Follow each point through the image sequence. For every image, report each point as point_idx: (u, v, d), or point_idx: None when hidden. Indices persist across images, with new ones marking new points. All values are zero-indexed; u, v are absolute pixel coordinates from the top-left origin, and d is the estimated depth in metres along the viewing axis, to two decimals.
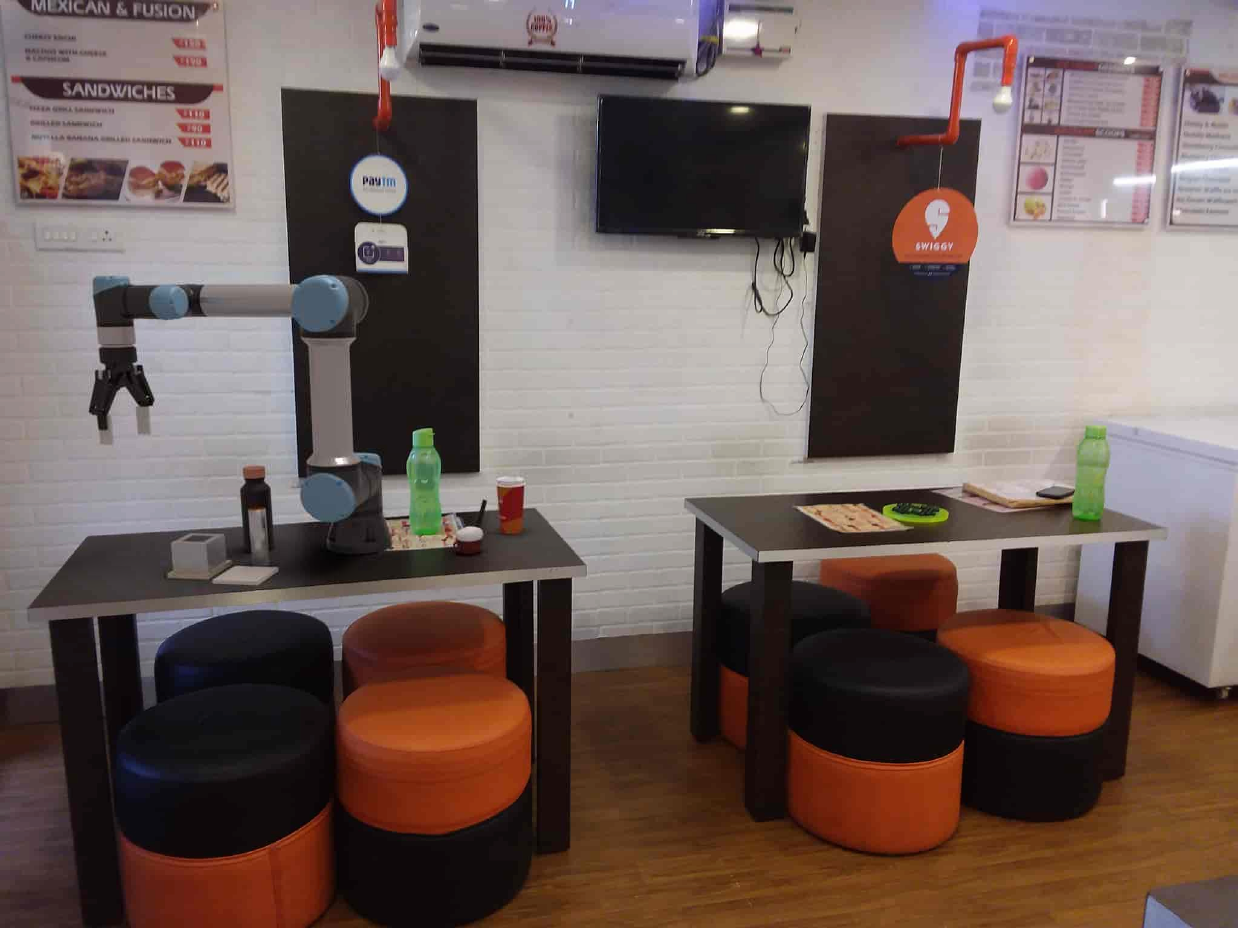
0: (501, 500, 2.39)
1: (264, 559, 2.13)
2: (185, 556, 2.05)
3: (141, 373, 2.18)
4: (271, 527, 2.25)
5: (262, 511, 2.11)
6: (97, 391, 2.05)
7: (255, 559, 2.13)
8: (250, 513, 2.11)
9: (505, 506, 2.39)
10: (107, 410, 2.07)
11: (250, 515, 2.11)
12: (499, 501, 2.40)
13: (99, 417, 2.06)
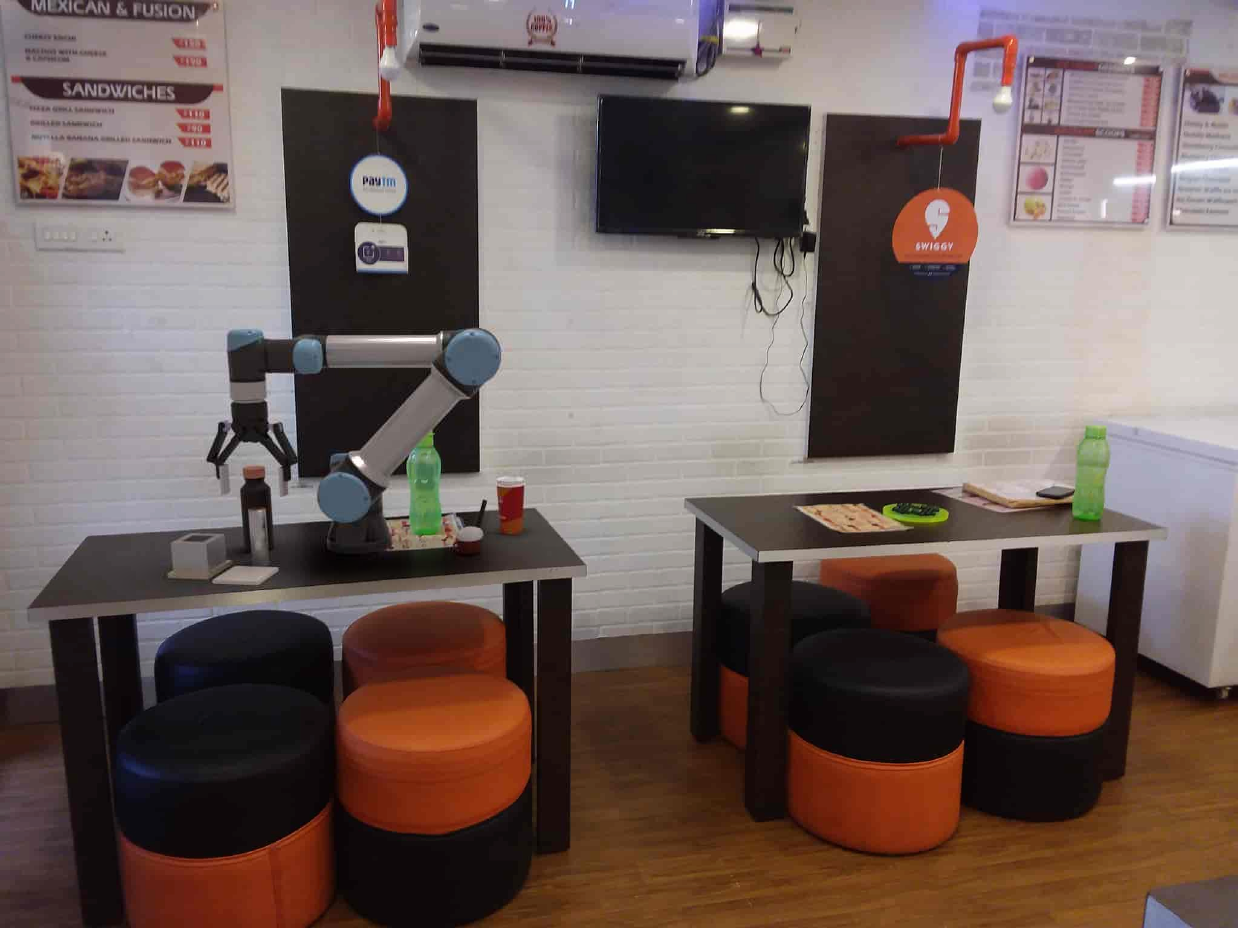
0: (501, 500, 2.39)
1: (264, 559, 2.13)
2: (185, 556, 2.05)
3: (275, 432, 2.07)
4: (271, 527, 2.25)
5: (262, 511, 2.11)
6: None
7: (255, 559, 2.13)
8: (250, 513, 2.11)
9: (505, 506, 2.39)
10: (218, 461, 2.09)
11: (250, 515, 2.11)
12: (499, 501, 2.40)
13: None
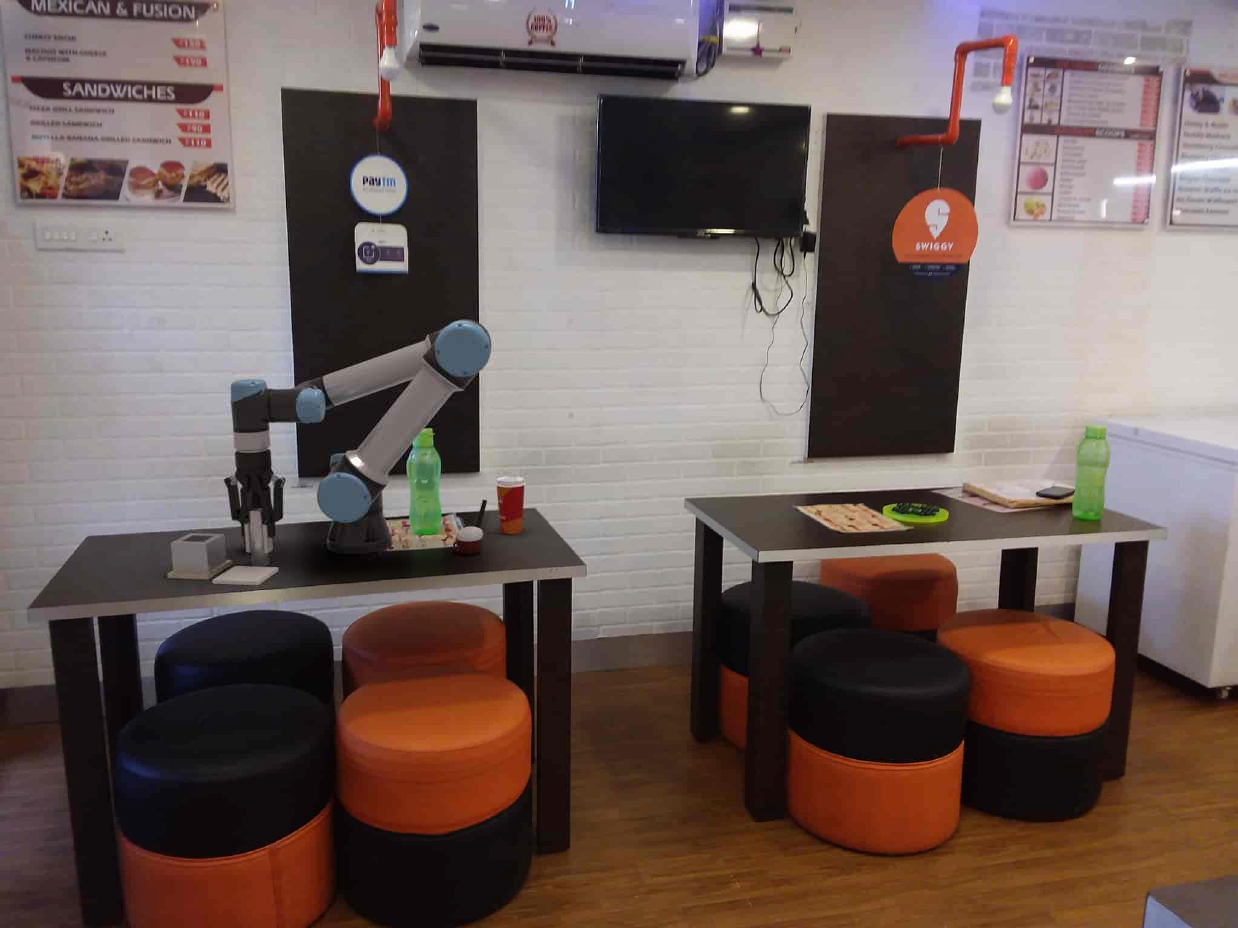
0: (501, 500, 2.39)
1: (264, 559, 2.13)
2: (185, 556, 2.05)
3: (275, 487, 2.09)
4: None
5: (262, 511, 2.11)
6: None
7: (255, 559, 2.13)
8: (250, 513, 2.11)
9: (505, 506, 2.39)
10: (242, 518, 2.11)
11: (250, 515, 2.11)
12: (499, 501, 2.40)
13: None
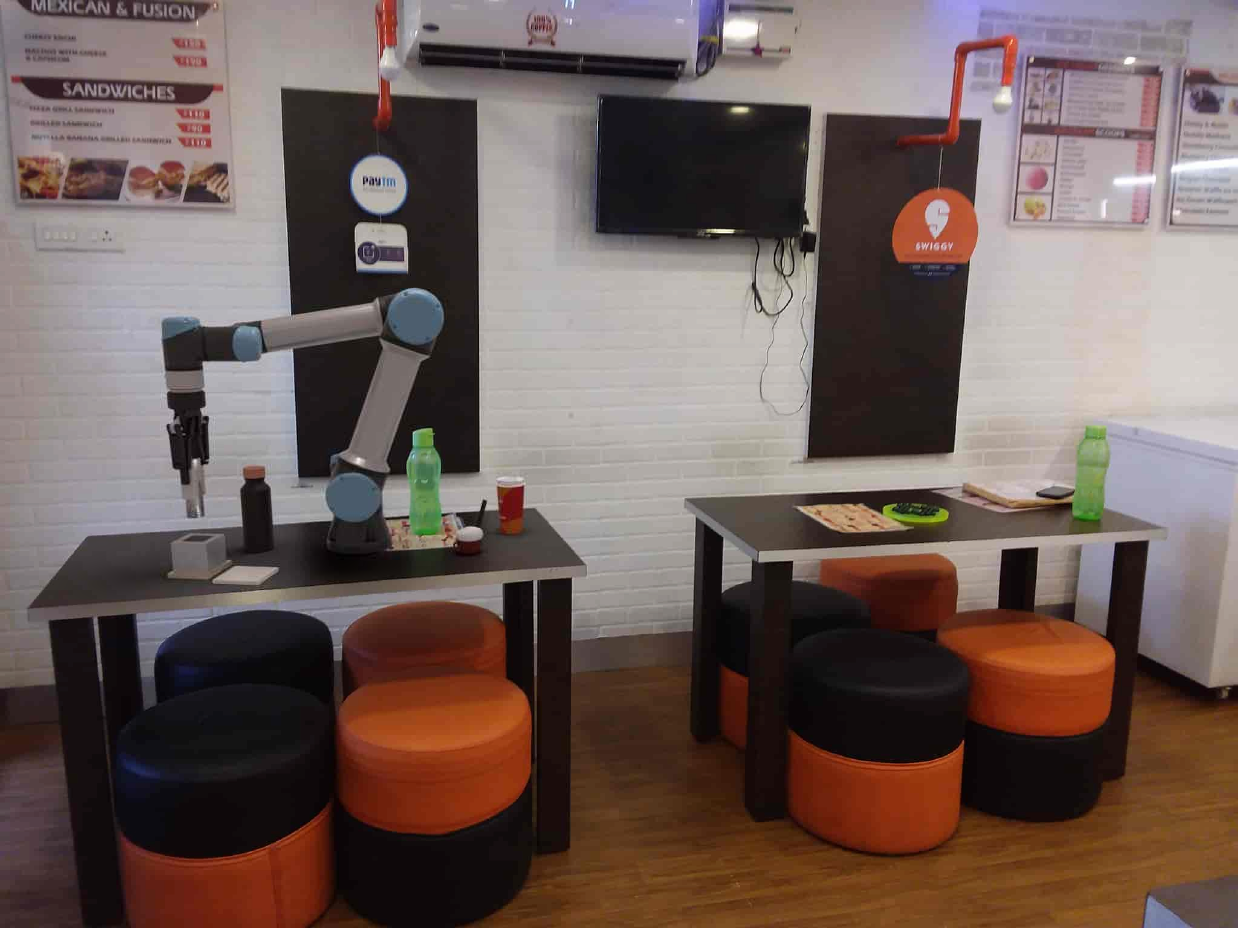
0: (501, 500, 2.39)
1: None
2: (185, 556, 2.05)
3: (206, 424, 2.08)
4: (271, 527, 2.25)
5: None
6: (175, 446, 1.98)
7: (202, 509, 2.06)
8: (196, 462, 2.04)
9: (505, 506, 2.39)
10: (189, 464, 2.02)
11: (196, 463, 2.04)
12: (499, 501, 2.40)
13: (182, 472, 2.01)
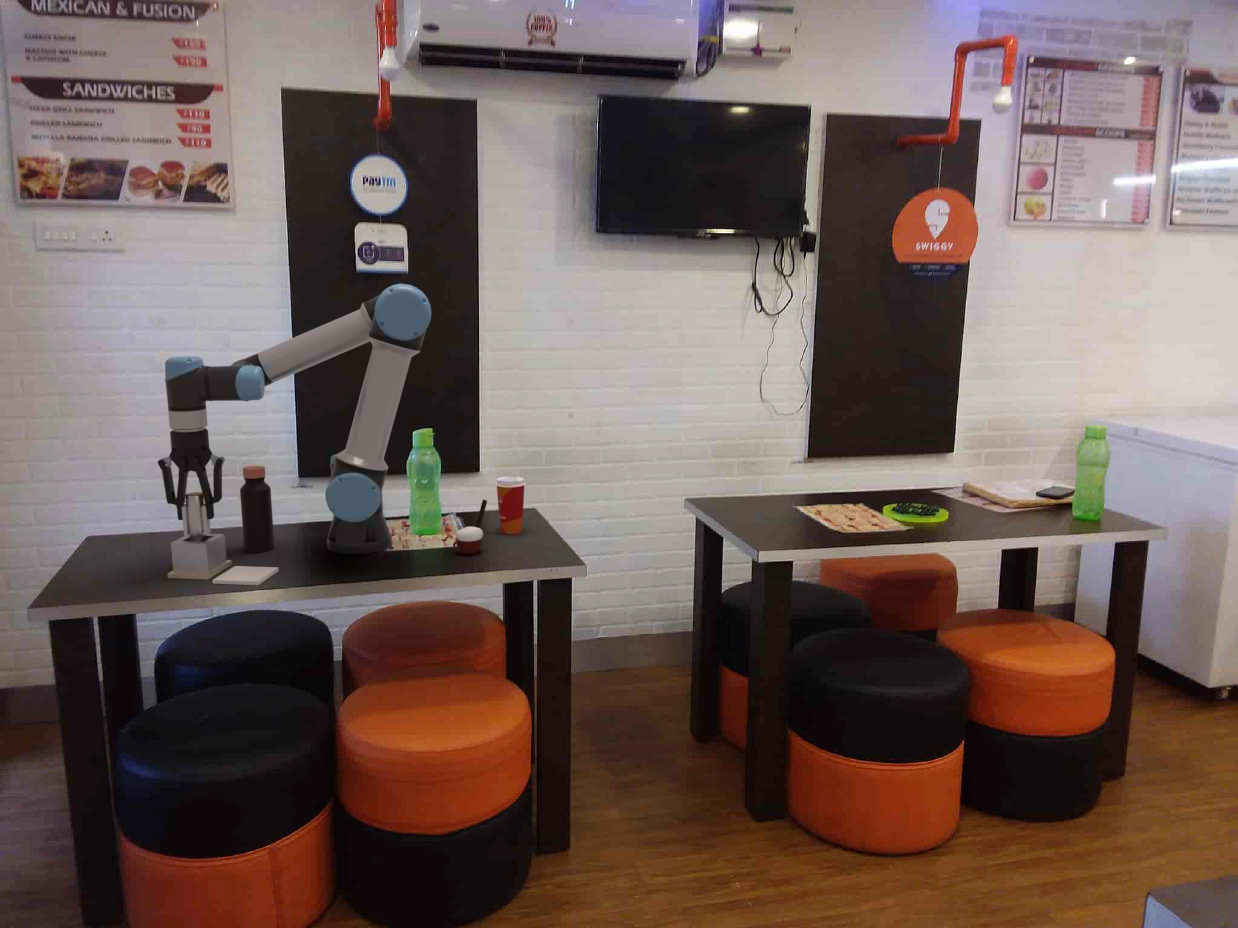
0: (501, 500, 2.39)
1: None
2: (185, 556, 2.05)
3: (215, 466, 2.05)
4: (271, 527, 2.25)
5: None
6: None
7: None
8: (193, 499, 2.05)
9: (505, 506, 2.39)
10: (179, 501, 2.05)
11: (192, 500, 2.05)
12: (499, 501, 2.40)
13: None
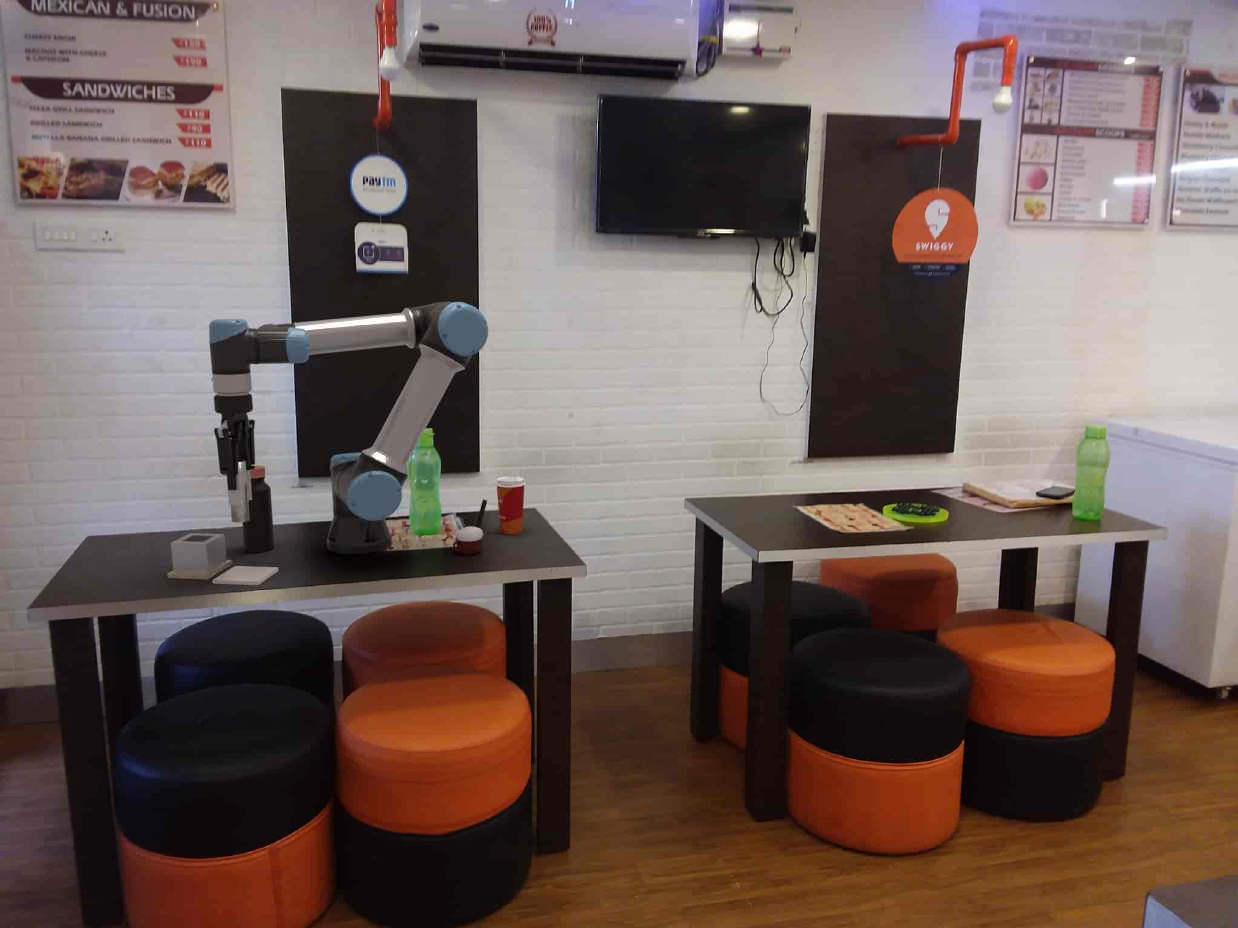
0: (501, 500, 2.39)
1: None
2: (185, 556, 2.05)
3: (252, 428, 2.04)
4: (271, 527, 2.25)
5: None
6: (222, 451, 1.94)
7: None
8: (245, 464, 2.01)
9: (505, 506, 2.39)
10: (236, 469, 1.98)
11: (245, 466, 2.01)
12: (499, 501, 2.40)
13: (229, 477, 1.98)
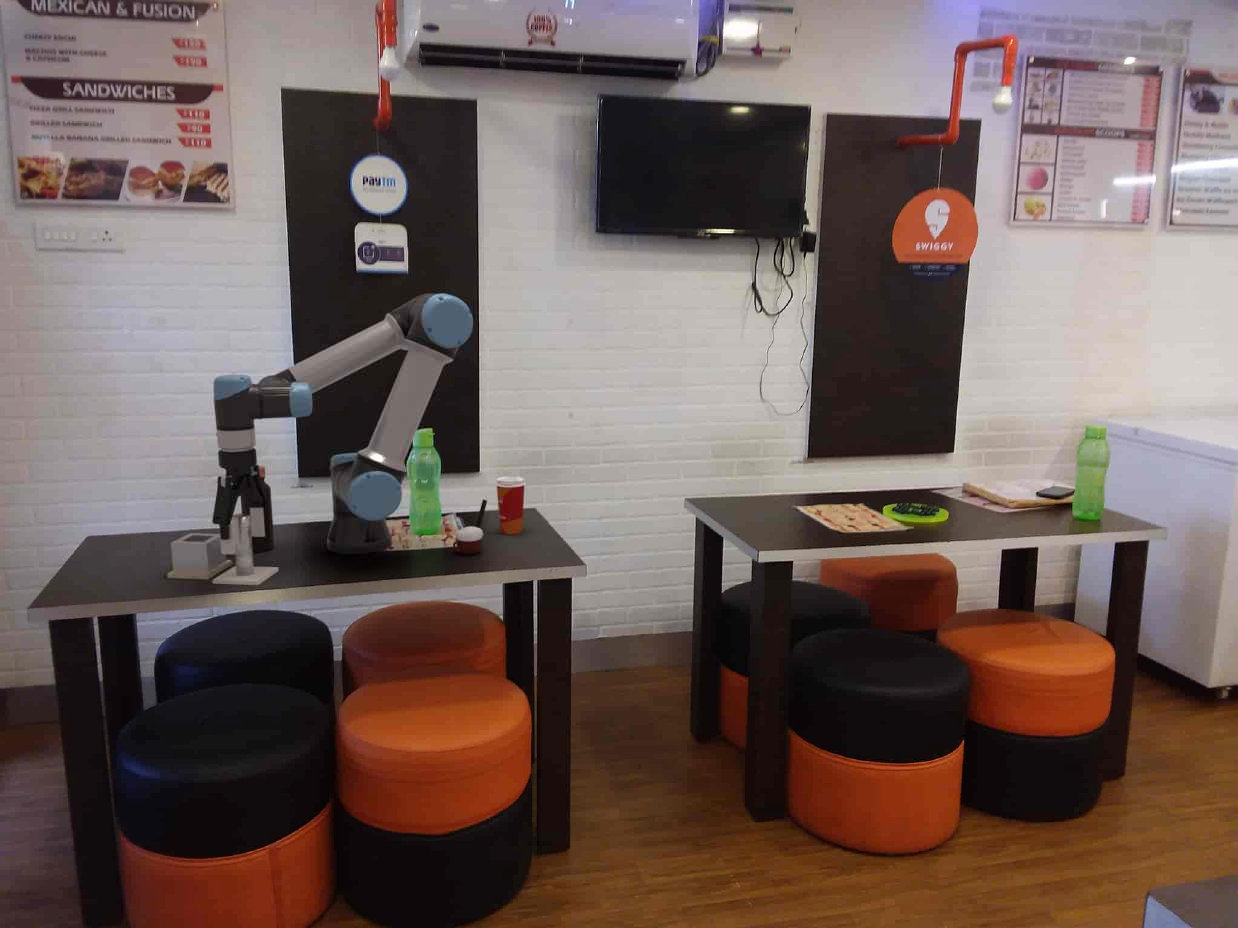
0: (501, 500, 2.39)
1: None
2: (185, 556, 2.05)
3: (257, 473, 2.07)
4: (271, 527, 2.25)
5: None
6: (220, 499, 1.94)
7: None
8: (249, 518, 2.03)
9: (505, 506, 2.39)
10: (230, 519, 1.96)
11: (249, 520, 2.03)
12: (499, 501, 2.40)
13: (222, 526, 1.95)
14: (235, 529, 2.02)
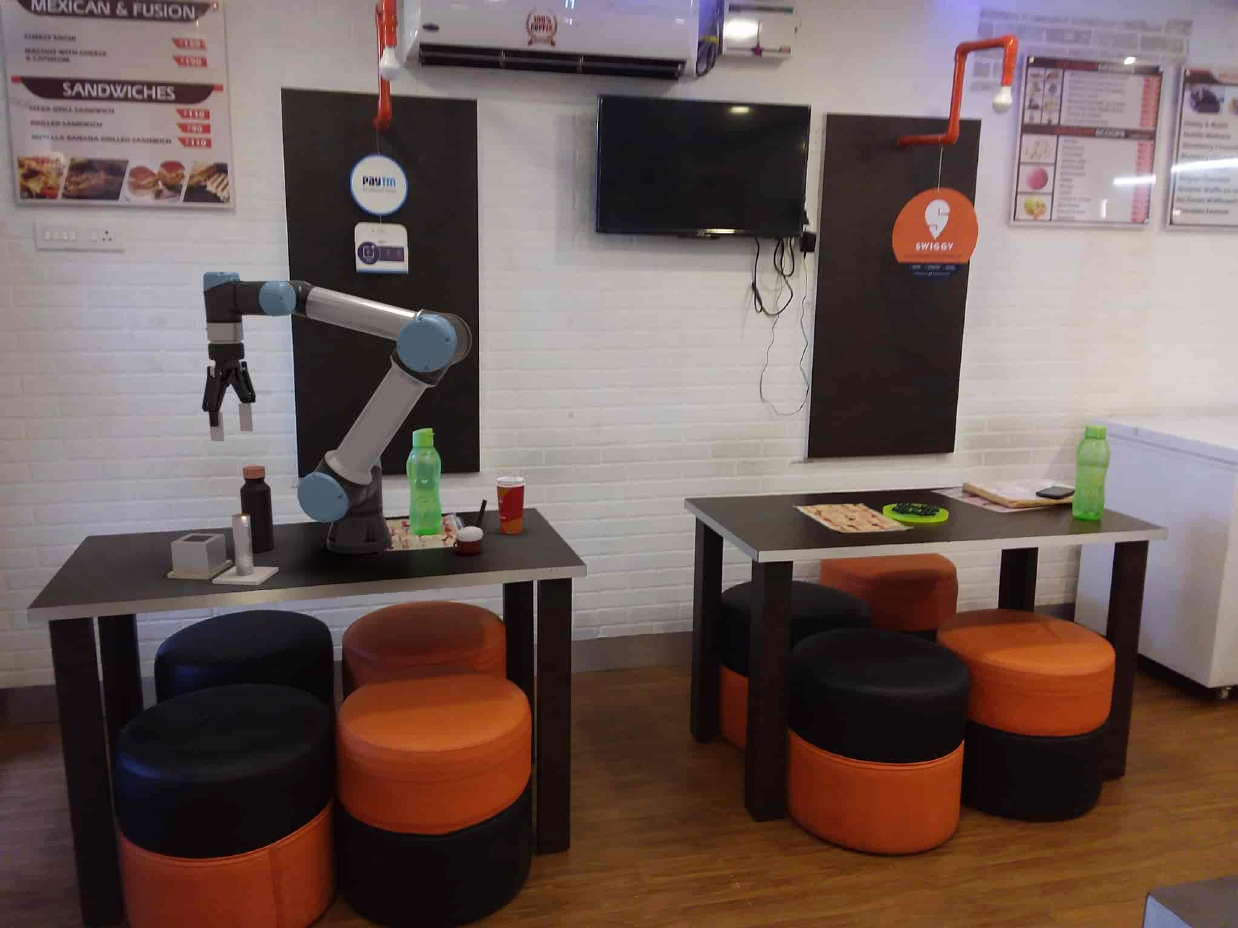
0: (501, 500, 2.39)
1: None
2: (185, 556, 2.05)
3: (245, 369, 2.17)
4: (271, 527, 2.25)
5: None
6: (210, 387, 2.04)
7: None
8: (249, 518, 2.03)
9: (505, 506, 2.39)
10: (219, 406, 2.06)
11: (249, 520, 2.03)
12: (499, 501, 2.40)
13: (211, 414, 2.05)
14: (235, 529, 2.02)
